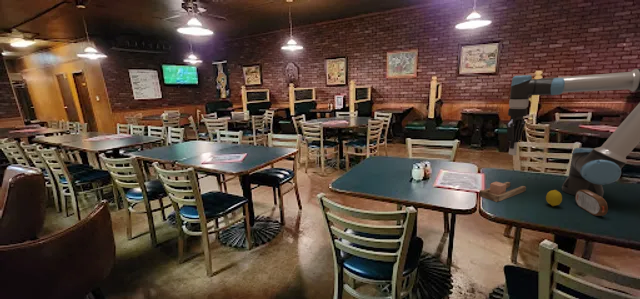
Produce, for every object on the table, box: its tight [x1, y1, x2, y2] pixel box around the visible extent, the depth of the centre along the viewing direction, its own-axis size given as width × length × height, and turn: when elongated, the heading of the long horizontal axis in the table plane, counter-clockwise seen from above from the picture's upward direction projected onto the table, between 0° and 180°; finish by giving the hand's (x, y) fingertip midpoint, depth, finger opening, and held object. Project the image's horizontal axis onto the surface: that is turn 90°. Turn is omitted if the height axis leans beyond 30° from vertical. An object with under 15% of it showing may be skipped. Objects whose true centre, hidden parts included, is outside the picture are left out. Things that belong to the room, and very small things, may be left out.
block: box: [489, 181, 507, 195], centre depth 136 cm, size 5×5×6 cm
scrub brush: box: [574, 190, 609, 217], centre depth 116 cm, size 15×3×8 cm, turn 168°
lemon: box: [545, 189, 563, 207], centre depth 122 cm, size 6×6×8 cm
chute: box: [478, 181, 527, 203], centre depth 138 cm, size 9×25×3 cm, turn 117°
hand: (512, 154), depth 136 cm, fingers closed
